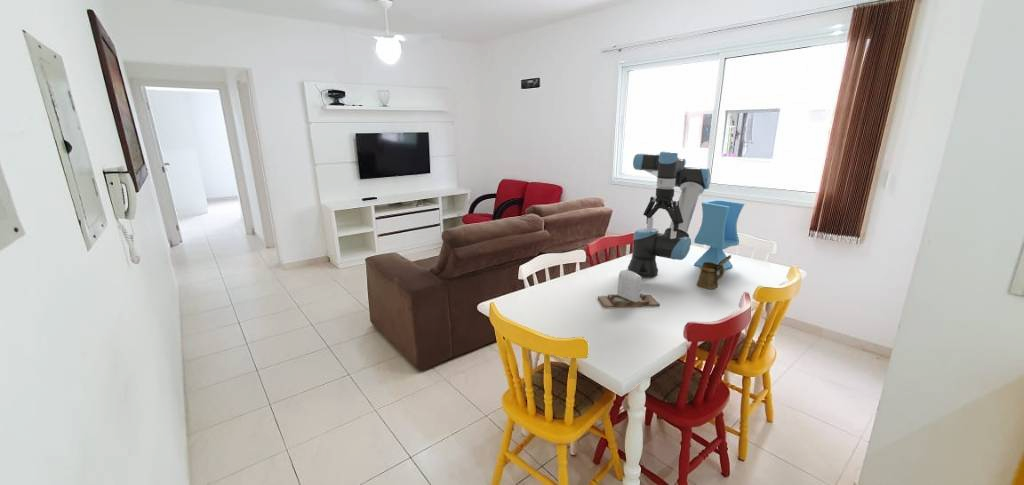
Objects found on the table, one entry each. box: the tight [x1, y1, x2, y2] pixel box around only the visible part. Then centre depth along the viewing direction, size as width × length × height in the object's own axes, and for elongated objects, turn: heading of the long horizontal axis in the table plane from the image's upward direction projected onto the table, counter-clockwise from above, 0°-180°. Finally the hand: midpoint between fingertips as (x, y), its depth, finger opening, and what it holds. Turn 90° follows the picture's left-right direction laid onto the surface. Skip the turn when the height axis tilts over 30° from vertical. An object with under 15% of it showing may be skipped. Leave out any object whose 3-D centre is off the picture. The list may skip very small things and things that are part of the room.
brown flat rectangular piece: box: [597, 293, 661, 308], centre depth 175 cm, size 24×10×3 cm, turn 93°
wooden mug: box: [696, 254, 732, 291], centre depth 188 cm, size 9×14×18 cm, turn 35°
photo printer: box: [617, 269, 642, 302], centre depth 173 cm, size 10×4×12 cm, turn 36°
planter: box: [693, 199, 745, 273], centre depth 214 cm, size 16×16×35 cm
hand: (660, 234), depth 181 cm, fingers open, 13 cm apart
